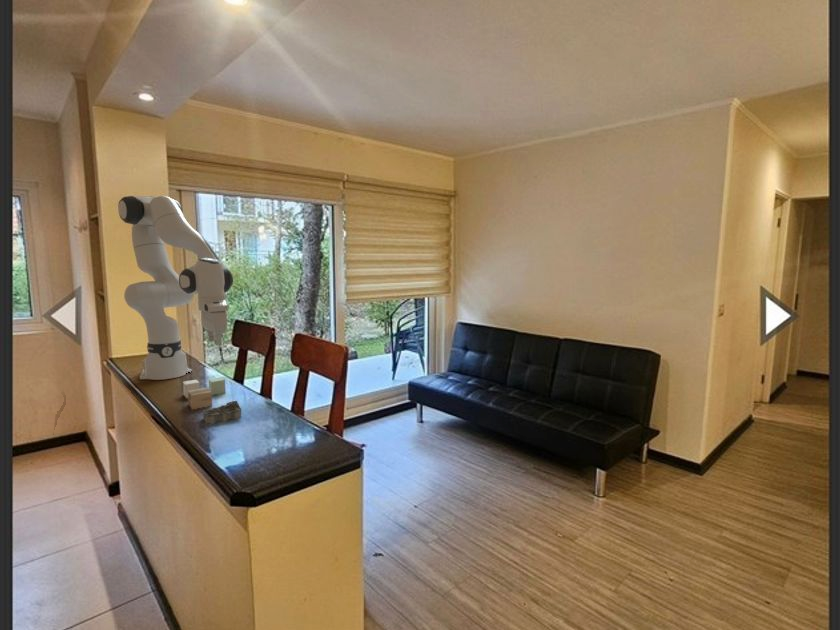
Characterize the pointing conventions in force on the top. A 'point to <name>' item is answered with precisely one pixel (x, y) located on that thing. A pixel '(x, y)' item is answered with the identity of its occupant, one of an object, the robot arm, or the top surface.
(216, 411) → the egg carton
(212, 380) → the green cube
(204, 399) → the oak block
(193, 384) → the cream cube
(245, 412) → the top surface
